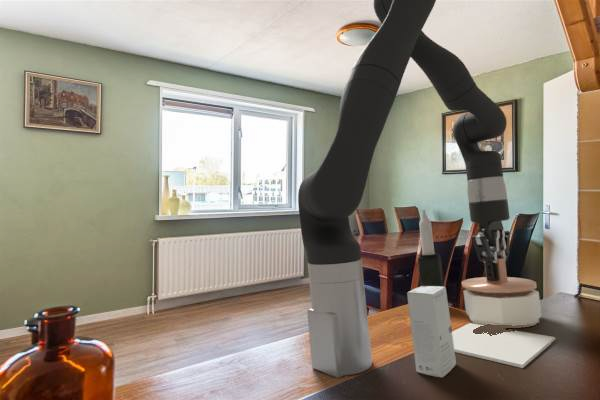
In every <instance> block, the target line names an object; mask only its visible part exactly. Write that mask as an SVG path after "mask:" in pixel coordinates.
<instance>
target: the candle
mask: <svg viewBox="0 0 600 400" xmlns="http://www.w3.org/2000/svg"><path fill="white" fill-rule="evenodd" d="M421 211H422V212H421V213H422V214H421V218H420V221H419V223H418V224H419V234H420V241H421V252H422V253H420V254H419V255H418V256H419V257H417V264H418V265H417V266H418V274H419V285H420V286H419V287H421V286H442V287H445V286H444V285H445V283H444V275H443V274H444V273H443V267H442V266H443V265H442V258H441V257H442V256H441V255H439V253H437V252H436V253H435V247H434V246H435V244H434V236H433V235H434V234H433V228H432V221H431V220H430V219H429V218H428V215H427V213H426V209H425V208H424V209H422V210H421Z"/></svg>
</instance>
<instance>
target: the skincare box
mask: <svg viewBox="0 0 600 400" xmlns="http://www.w3.org/2000/svg"><path fill="white" fill-rule="evenodd" d="M406 295H407V304H408V312H409V321H410V328H411V338H412V339H411V340H412V347H413V356H414V364H415V370H416V372H417V373H418V374H423V375H427V376H432V377H436V378H445V376H446V375H448V373H450V372H451V371H452V370H453V368H454V367H455V366H456V364H457V361H456V360H457V359H456V352H455V351H454V343H453V336H452V332H453V331H452V322H451V317H450V316H451V315H450V310H449V302H448V294H447V287H446V286H444V287H442V286H419V287H415V288H413V289H412V290H410V291H408V292H406Z"/></svg>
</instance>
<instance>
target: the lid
mask: <svg viewBox="0 0 600 400" xmlns="http://www.w3.org/2000/svg"><path fill="white" fill-rule="evenodd" d="M497 265H498V274H499V280H498V281H488V280H487V275H486V274H485V276H484V277H483V276H482V277H473V278H467V279H464V280H462V281H461V287H462V288H463V289H464V290H466V289H468V290H472V291H478V292H489V293H515V292H525V291H531V290H536V289H537V287H538V286H537V282H536V281H534V279H533V280H532V279H528V278H522V277H513V276H512V277H511V276H508V275H507V273H508V272H507V266H506V260H505V258H497ZM484 270H485V272H486V266H485V265H484Z"/></svg>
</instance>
